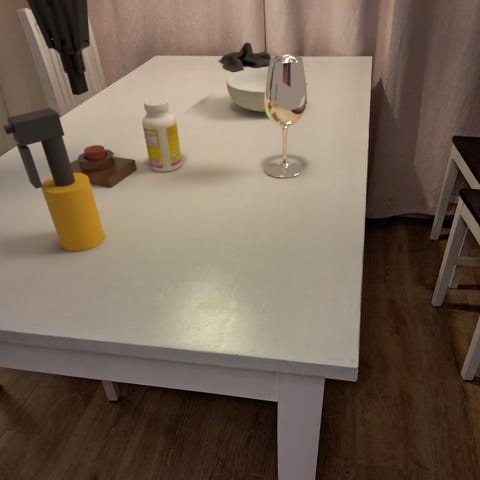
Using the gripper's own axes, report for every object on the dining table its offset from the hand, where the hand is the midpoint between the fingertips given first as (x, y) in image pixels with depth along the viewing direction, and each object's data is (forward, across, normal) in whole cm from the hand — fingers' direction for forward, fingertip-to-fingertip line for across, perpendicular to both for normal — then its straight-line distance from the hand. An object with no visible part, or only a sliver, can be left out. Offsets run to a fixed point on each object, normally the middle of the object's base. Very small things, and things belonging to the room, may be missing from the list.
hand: (80, 92), depth 85 cm
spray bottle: (+16, +13, -22) cm, 30 cm away
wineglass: (+16, +35, +14) cm, 41 cm away
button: (+12, 0, 0) cm, 12 cm away
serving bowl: (+16, +17, +50) cm, 55 cm away
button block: (+16, 0, 0) cm, 16 cm away
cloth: (+16, -8, +92) cm, 94 cm away
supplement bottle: (+16, +11, +8) cm, 21 cm away
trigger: (+5, +11, -26) cm, 28 cm away
